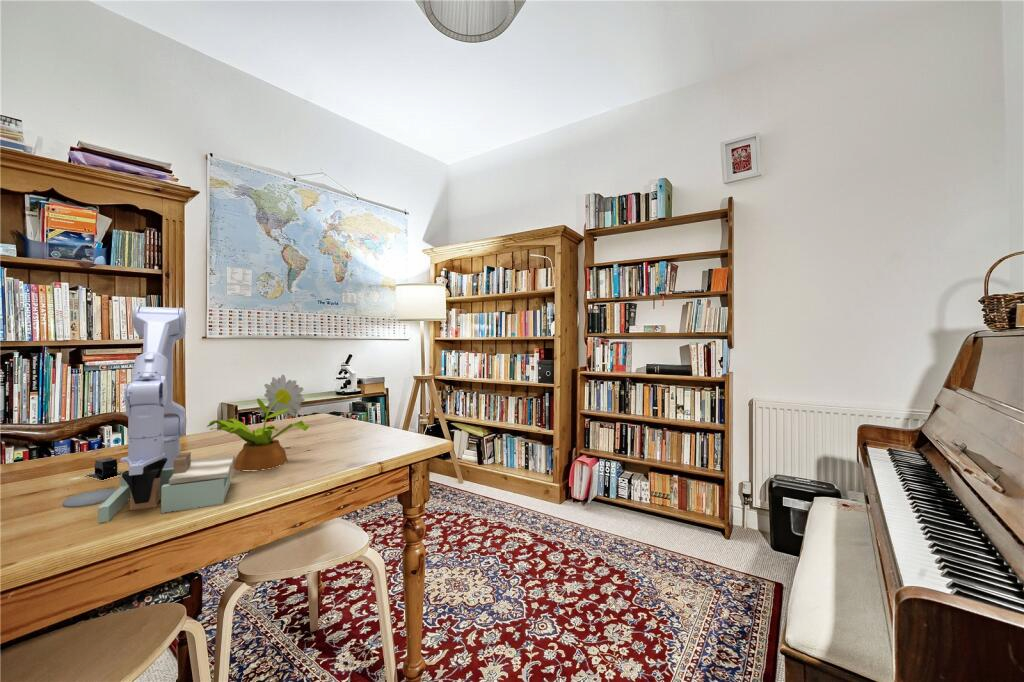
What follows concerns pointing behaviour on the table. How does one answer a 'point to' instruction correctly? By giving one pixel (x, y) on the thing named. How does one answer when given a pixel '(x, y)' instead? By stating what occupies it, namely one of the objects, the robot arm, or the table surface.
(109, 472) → the black small block
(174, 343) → the robot arm
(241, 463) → the decorative plant
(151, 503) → the block
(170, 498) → the sage green u-shaped tray
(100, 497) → the mat
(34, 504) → the table surface
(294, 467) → the table surface
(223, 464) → the lid
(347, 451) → the table surface
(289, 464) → the table surface
